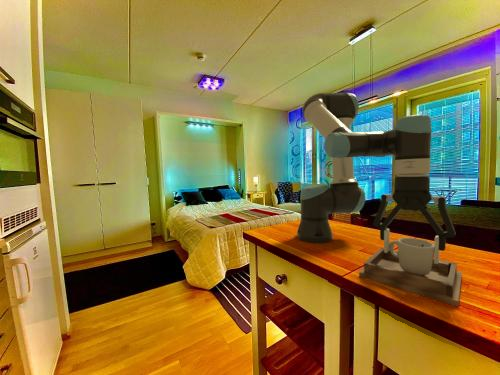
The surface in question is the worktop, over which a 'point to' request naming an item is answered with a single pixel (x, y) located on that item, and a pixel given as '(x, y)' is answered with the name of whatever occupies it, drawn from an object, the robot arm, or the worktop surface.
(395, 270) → the square wooden tray
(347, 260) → the worktop surface
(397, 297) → the worktop surface
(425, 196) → the robot arm
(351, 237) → the worktop surface
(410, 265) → the cup
